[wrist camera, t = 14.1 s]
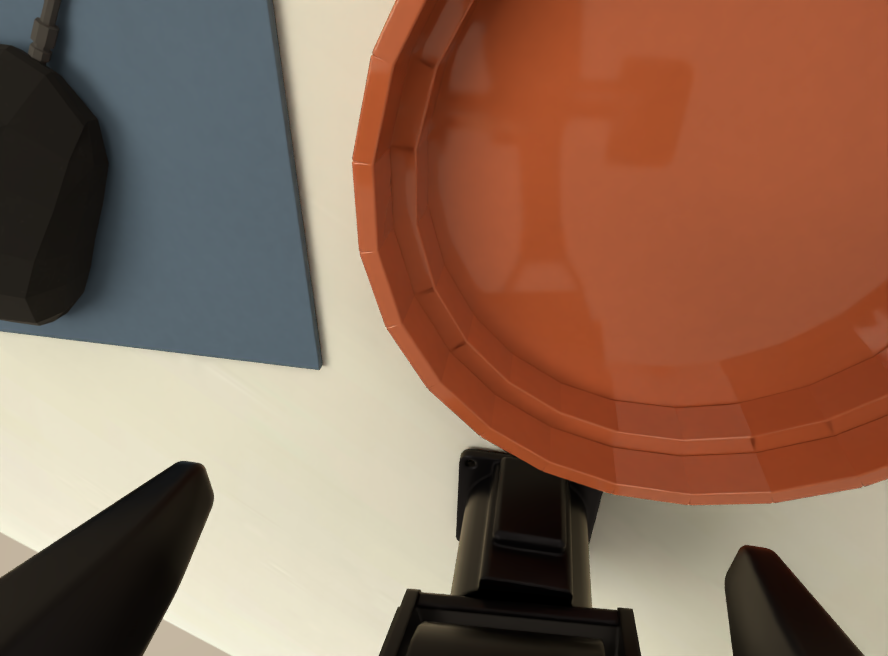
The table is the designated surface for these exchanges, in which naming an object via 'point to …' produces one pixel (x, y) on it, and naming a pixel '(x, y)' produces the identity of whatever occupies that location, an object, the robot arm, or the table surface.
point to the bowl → (640, 235)
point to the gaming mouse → (45, 182)
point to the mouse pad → (185, 179)
